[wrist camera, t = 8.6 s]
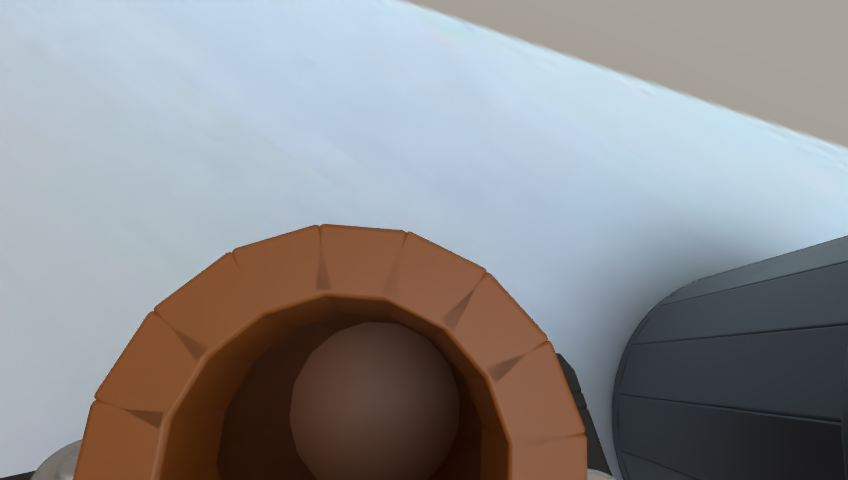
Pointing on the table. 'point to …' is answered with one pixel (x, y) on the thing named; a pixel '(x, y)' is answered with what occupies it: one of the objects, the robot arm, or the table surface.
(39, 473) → the robot arm
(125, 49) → the table surface
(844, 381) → the tin lid
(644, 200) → the table surface
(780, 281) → the tin
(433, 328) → the jar
